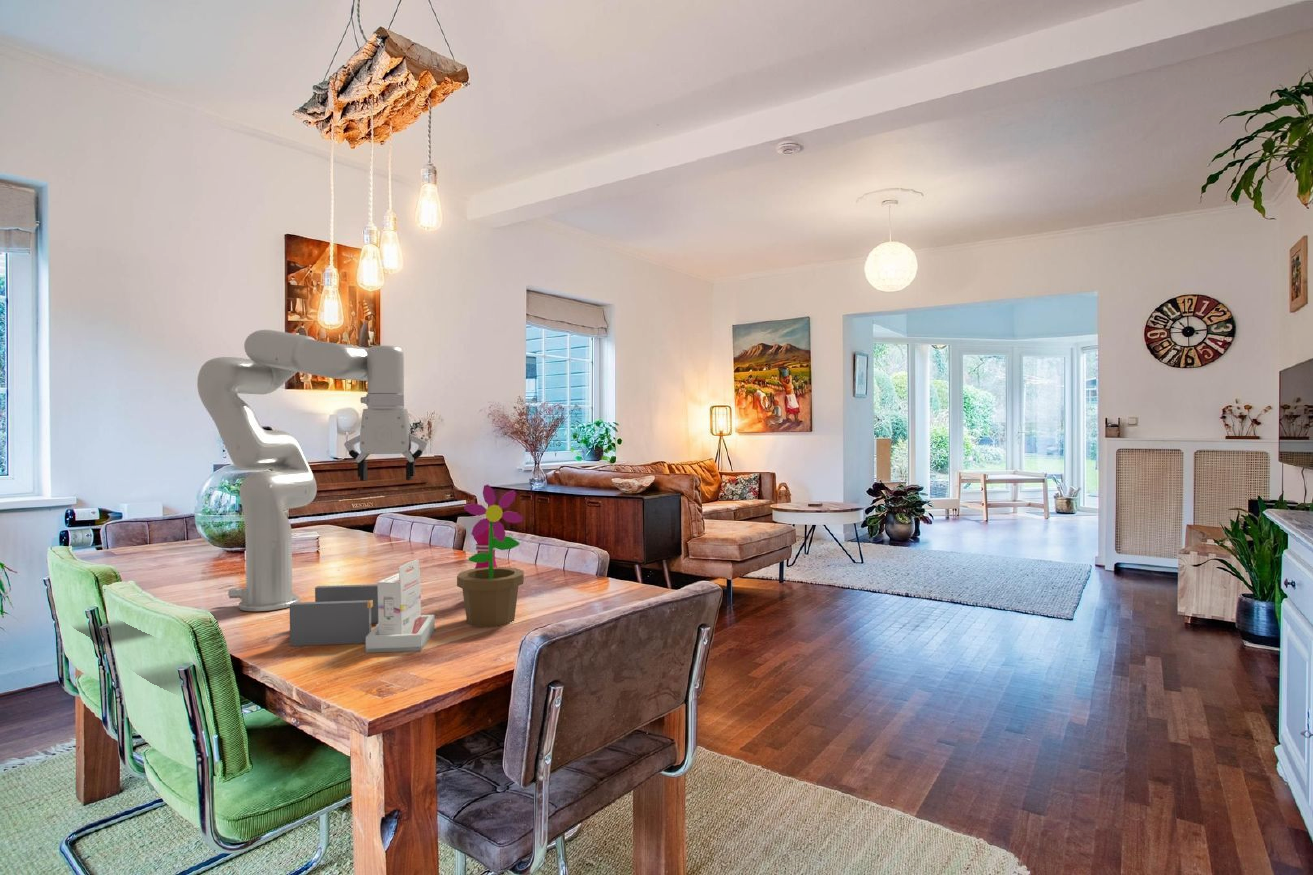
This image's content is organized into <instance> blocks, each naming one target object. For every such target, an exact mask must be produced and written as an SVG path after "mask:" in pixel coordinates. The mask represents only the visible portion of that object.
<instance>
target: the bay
mask: <svg viewBox="0 0 1313 875" xmlns="http://www.w3.org/2000/svg"><path fill="white" fill-rule="evenodd" d="M372 624H378V587H377V583H375V584H373V583H372V584H347V585H346V584H345V585H339V584H338V585H317V586H316V587H314V601H303V602H299V603H292V604H290V607H289V646H290V647H300V646H302V647H304V646H329V645H349V644H351V645H352V644H353V645H354V644H366V636H367V635H368V634H369V633H370V632H371V631H372Z"/></svg>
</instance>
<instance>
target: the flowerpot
mask: <svg viewBox="0 0 1313 875" xmlns="http://www.w3.org/2000/svg"><path fill="white" fill-rule="evenodd" d="M495 495H496V494H495V490H494V489H493V488H492V487H491V486H490V485H489V484H484V485H483V489H482V496H483V499H484V502H485V503H486V504H487V505H488V506H487V508H486V507H484V506H483V505H482V504H479V503H473V502H472V503H468V504H465V505H464V508H463V510H464V511H466V512H467V513H469V514H470V515H473V516H474V515H475V516H484V515H485V517H486V518H485V517H484V518H485V519H483V518H482V519H480V520H478V521H477V522H476V523H475V524H474V525H473V527H472V531H471V532H470V534H471V535H472V537H473V538H474V537H476V536H478V535H481V534H482V533H483V532H484V531H485V530H486V529H487V528H488V526H489V524H490V526H489V553H483V552H482V553H477V552H476V553H475V554H473V555H471V556H469V557H468V561H469V562H473V563H476V564H477V563H483V562H486V561H488V560H489V567H485V568H477V569H475V568H471V569H468V570H464V571H461V572H459V573H458V574H457V576H456V587H458V588H460V589H462V596H463V604H464V611H465V617H466V618H465V619H466V624H468V625H470V626H471V625H472V626H471V627H476V626H477V627H478V628H497V627H502V626H501V625H503V626H507V625H509V624H511V623H510V622H512V621H514V622H515V619H516V618H515V617H516V612H517V610H516V609H517V600H518V594H519V586H522V585H524V582H525V580H524V579H525V577H524V576H525V574H524V573H525V572H524V571H525V570H523V569H519V568H516V567H509V566H507V567H505V566H497V567H493V547H494V548H497V549H496V550H501V551H506V550H512V549H514V548H515V547H518V546H520V542H519V541H518V540H517V539H515V538H514V537H512V536H508V535H506V530H505V527H504V526H505V525H504V524H503V523H501V521H500V519H503V520H504V521H505V522H508V523H511V524H517V523H520V522H523V519H524V517H523V516H522V515H521V514H519V513H518V512H515V511H510V510H507V511H504V512H503V509H505V508H506V509H507V508H508V507H509V506H510V505H511V504H512V503H513V502H514V501H515V498H516V495H517V492H516V490H514V489H513V490H510V491H508V492H506V493H505V494H503V495H502V496H501V497H500V499H499V501H498V504H495V503H496V499H497V498H496V496H495ZM493 532H494V536H495V538H493ZM512 623H513V622H512ZM496 626H497V627H496Z"/></svg>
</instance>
